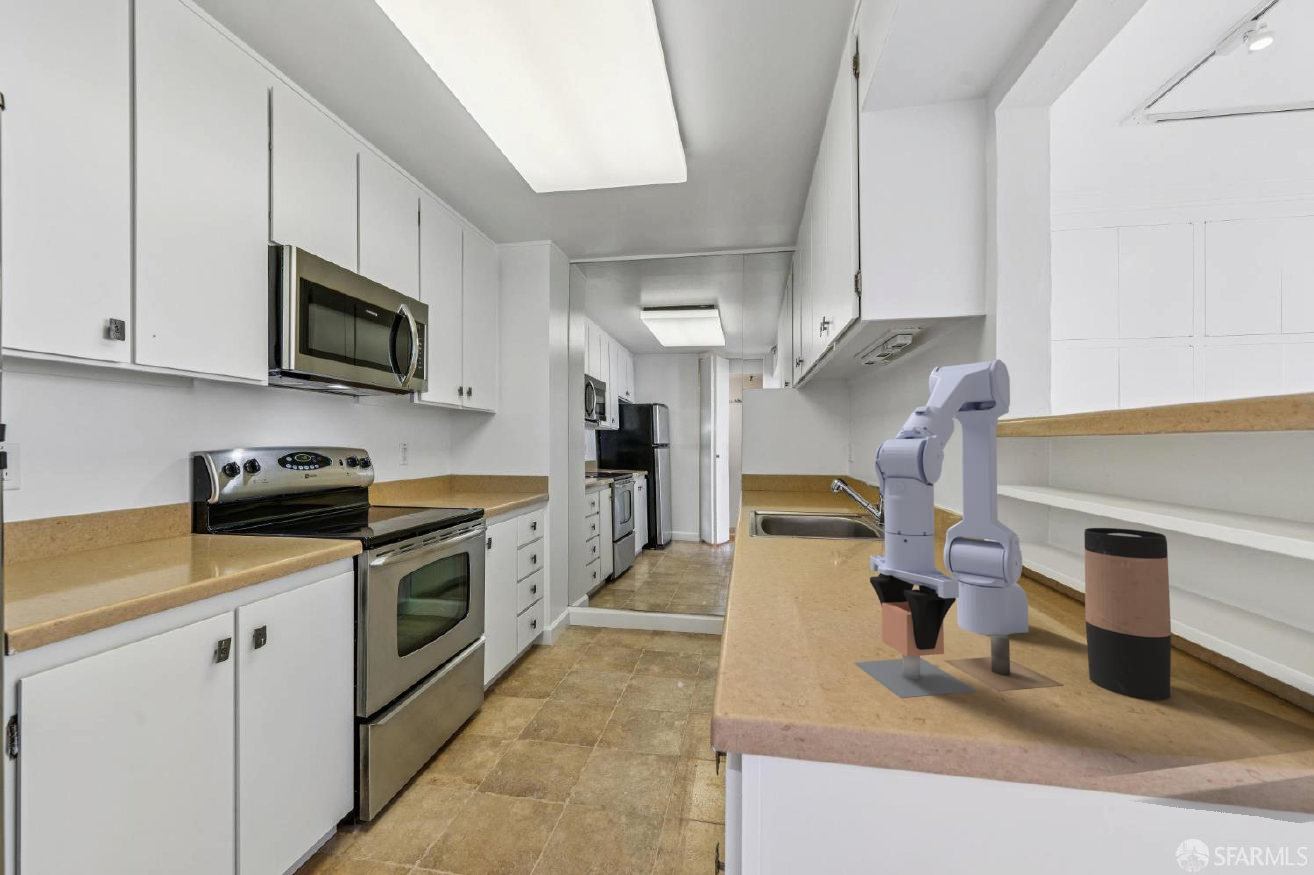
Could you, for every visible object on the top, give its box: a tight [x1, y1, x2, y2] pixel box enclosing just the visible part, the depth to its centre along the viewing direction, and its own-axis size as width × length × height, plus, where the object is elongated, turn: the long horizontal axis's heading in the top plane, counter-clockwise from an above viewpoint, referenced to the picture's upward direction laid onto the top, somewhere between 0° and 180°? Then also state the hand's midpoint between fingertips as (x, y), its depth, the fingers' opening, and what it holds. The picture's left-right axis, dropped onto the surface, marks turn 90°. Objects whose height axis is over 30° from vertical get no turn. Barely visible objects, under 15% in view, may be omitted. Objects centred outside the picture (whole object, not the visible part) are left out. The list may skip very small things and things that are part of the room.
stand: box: [944, 634, 1064, 692], centre depth 66 cm, size 9×9×6 cm
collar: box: [881, 602, 945, 657], centre depth 65 cm, size 5×5×5 cm
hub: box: [853, 653, 978, 699], centre depth 65 cm, size 10×10×6 cm
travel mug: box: [1084, 527, 1172, 701], centre depth 62 cm, size 8×8×20 cm
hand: (910, 640), depth 65 cm, fingers closed on collar, 5 cm apart
